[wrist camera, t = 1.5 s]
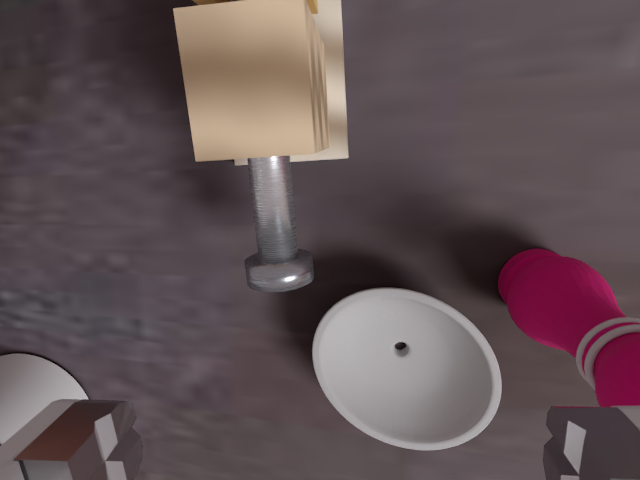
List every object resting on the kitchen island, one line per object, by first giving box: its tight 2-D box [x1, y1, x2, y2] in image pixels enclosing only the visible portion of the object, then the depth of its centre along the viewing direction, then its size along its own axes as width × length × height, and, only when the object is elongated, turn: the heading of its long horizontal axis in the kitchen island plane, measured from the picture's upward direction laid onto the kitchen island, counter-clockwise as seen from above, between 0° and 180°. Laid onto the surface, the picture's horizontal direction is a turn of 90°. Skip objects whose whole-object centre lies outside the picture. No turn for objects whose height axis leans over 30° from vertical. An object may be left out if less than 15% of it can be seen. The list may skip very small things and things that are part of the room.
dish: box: [312, 288, 502, 450], centre depth 36 cm, size 18×14×5 cm
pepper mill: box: [498, 249, 640, 407], centre depth 26 cm, size 7×7×20 cm
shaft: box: [229, 0, 314, 292], centre depth 25 cm, size 25×5×5 cm, turn 4°
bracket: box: [173, 0, 349, 165], centre depth 26 cm, size 18×10×13 cm, turn 4°
